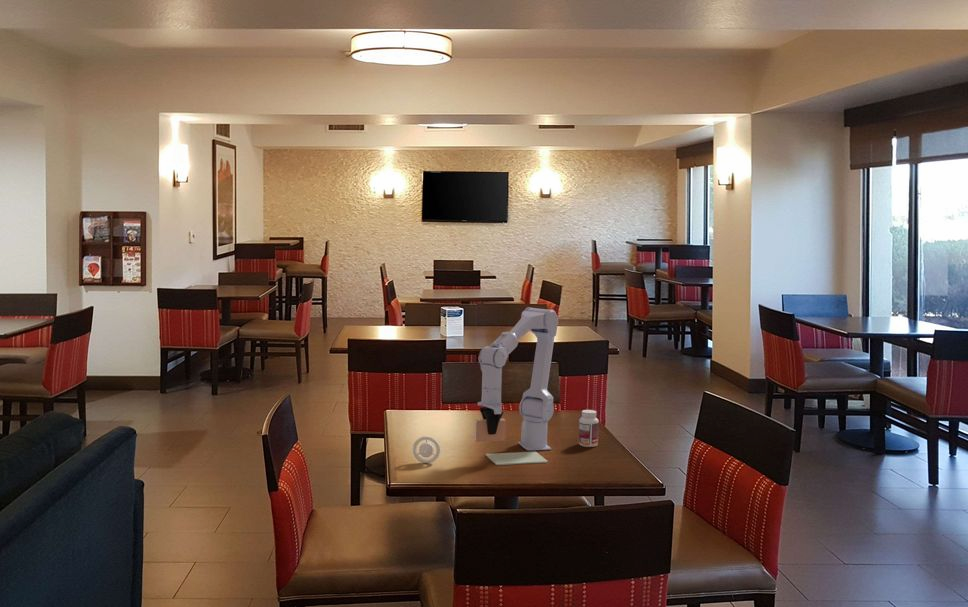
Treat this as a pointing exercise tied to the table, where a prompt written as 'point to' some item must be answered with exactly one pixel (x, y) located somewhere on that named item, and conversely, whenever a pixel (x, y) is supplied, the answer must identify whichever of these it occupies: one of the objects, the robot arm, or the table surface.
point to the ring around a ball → (426, 449)
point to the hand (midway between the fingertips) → (490, 432)
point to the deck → (482, 431)
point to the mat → (516, 458)
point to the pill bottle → (588, 429)
